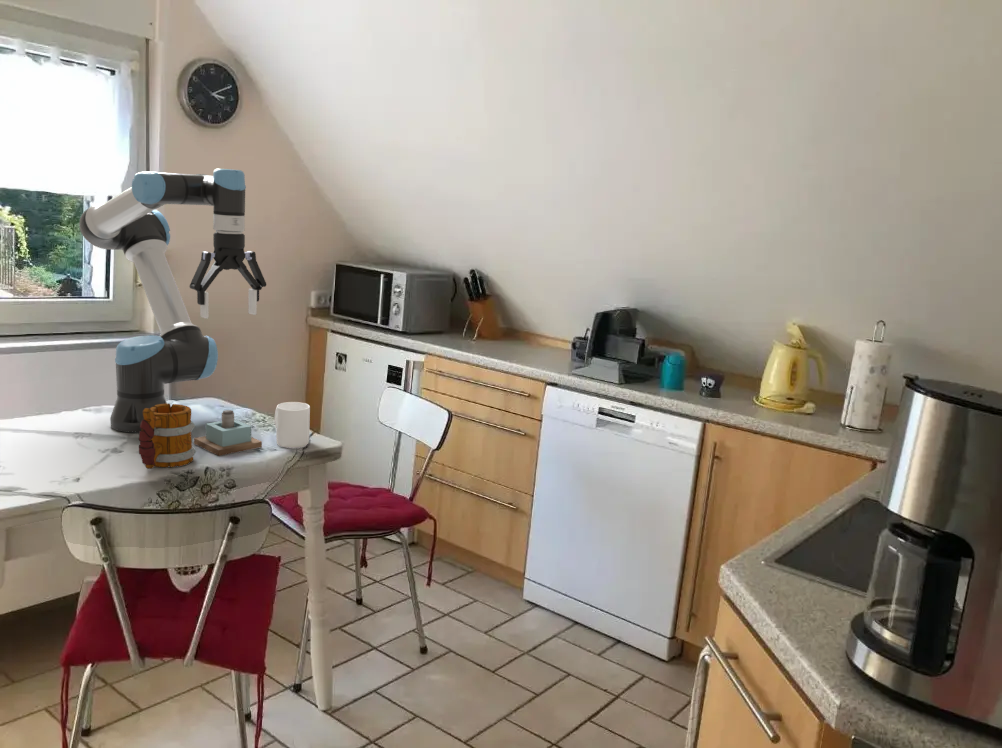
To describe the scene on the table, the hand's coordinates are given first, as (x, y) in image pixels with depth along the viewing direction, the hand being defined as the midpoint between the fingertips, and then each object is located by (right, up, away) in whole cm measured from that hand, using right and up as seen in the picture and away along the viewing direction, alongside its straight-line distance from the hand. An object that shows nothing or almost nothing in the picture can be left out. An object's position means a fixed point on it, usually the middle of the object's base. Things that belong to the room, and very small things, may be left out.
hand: (229, 316), depth 219 cm
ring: (+1, -32, -2) cm, 32 cm away
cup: (+14, -33, +5) cm, 36 cm away
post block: (0, -33, -2) cm, 33 cm away
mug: (-10, -36, -18) cm, 42 cm away
